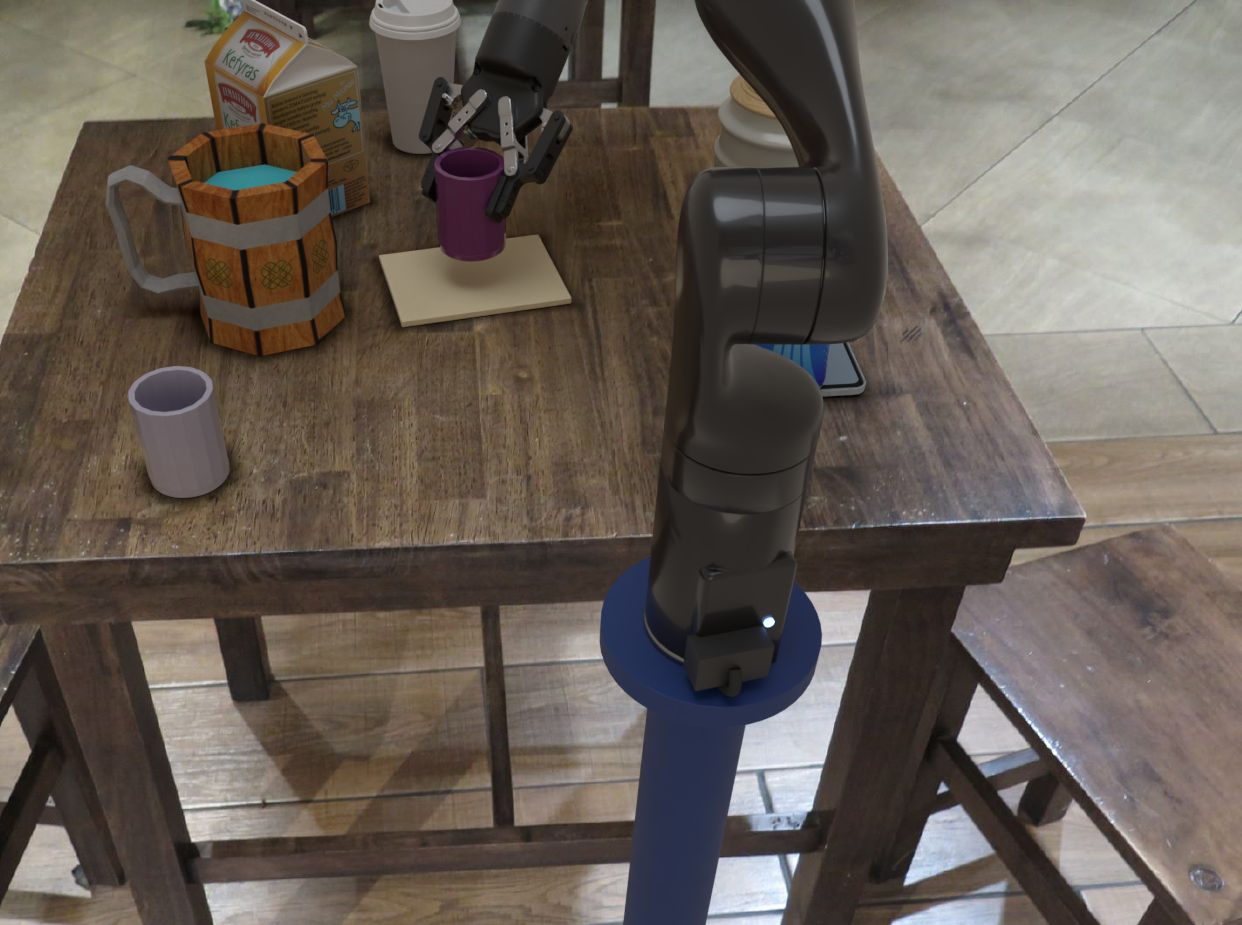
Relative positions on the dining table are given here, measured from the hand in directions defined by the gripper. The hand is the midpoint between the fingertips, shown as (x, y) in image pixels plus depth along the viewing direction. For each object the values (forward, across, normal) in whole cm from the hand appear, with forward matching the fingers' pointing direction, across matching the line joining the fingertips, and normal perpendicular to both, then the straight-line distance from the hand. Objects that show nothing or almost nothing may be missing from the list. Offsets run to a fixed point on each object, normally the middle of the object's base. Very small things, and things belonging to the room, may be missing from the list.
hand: (460, 209), depth 113 cm
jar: (-12, +20, +24) cm, 33 cm away
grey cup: (+30, -3, -18) cm, 35 cm away
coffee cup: (-10, -21, +22) cm, 32 cm away
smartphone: (0, +31, +12) cm, 33 cm away
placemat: (+5, 0, +7) cm, 8 cm away
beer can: (+5, +31, +7) cm, 32 cm away
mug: (+16, -15, -4) cm, 22 cm away
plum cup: (+2, 0, +4) cm, 5 cm away
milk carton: (+3, -24, +9) cm, 26 cm away
